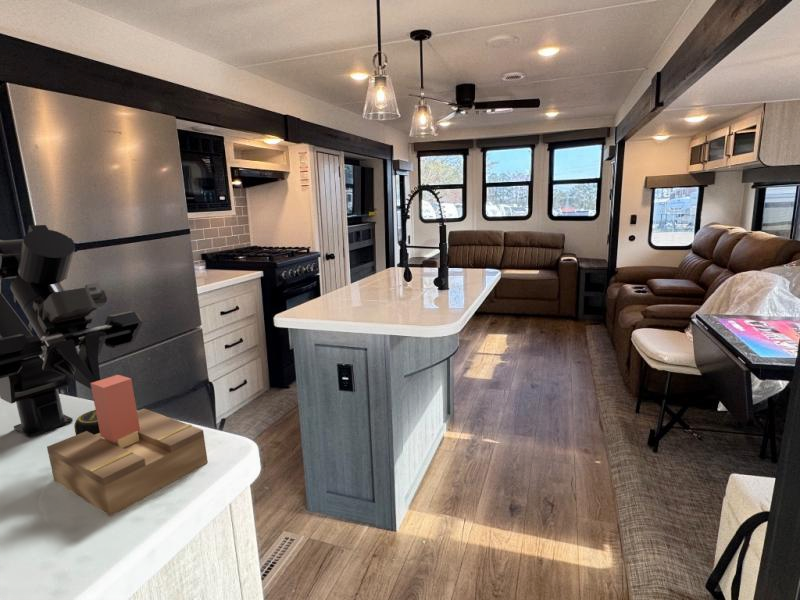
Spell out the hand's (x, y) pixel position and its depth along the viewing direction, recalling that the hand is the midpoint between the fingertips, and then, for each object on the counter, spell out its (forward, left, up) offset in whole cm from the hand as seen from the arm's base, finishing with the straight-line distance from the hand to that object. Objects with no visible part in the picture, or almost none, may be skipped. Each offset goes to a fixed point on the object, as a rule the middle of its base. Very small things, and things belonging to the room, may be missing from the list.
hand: (97, 387), depth 63 cm
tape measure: (-9, +4, -12) cm, 16 cm away
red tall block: (+4, 0, -7) cm, 8 cm away
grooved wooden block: (+6, 0, -11) cm, 13 cm away
